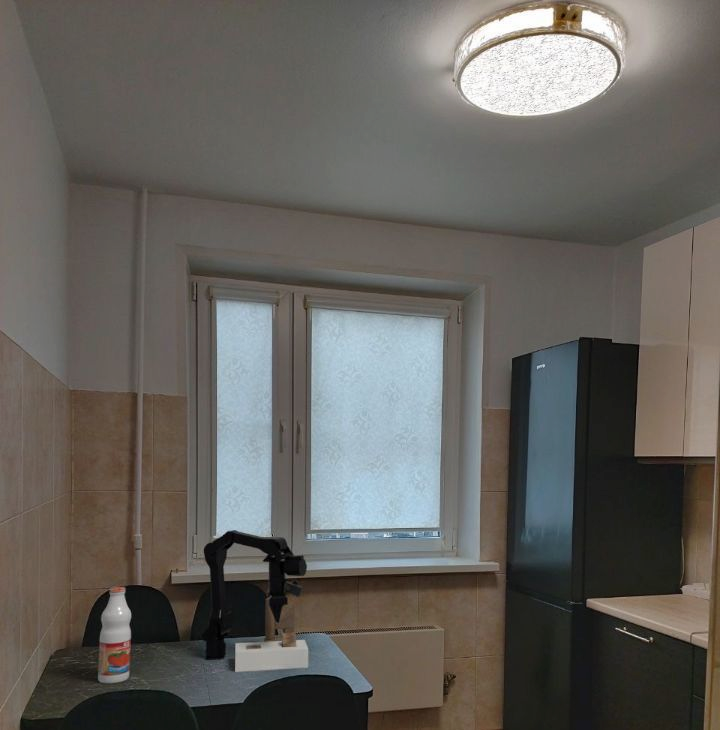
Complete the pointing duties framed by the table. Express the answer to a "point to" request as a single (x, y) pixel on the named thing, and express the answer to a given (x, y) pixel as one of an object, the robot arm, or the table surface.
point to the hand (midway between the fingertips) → (277, 622)
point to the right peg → (288, 639)
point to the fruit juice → (115, 639)
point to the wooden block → (284, 623)
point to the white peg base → (270, 656)
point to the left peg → (253, 647)
